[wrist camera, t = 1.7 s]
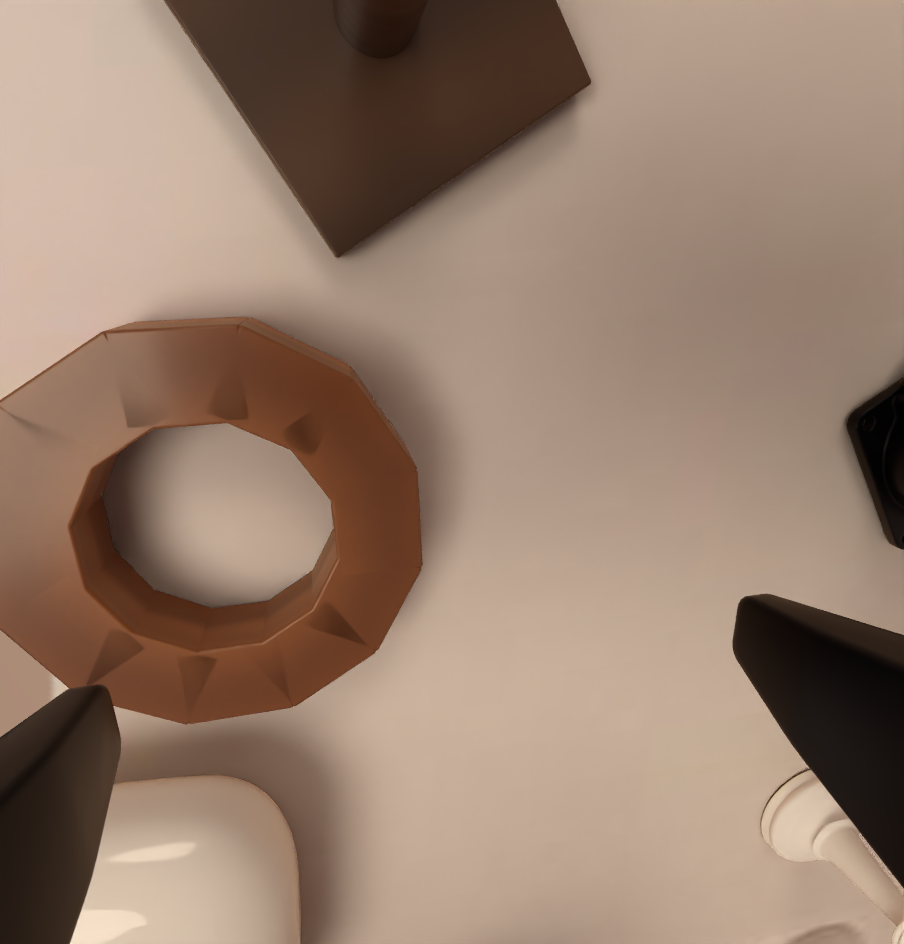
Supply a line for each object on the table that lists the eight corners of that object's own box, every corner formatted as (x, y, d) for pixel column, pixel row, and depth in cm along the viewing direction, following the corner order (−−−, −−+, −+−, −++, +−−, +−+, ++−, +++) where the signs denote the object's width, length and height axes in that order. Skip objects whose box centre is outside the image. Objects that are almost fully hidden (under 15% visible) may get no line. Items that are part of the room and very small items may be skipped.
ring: (65, 694, 19) (31, 751, 17) (-41, 330, 16) (-102, 340, 13) (418, 642, 21) (429, 686, 19) (397, 309, 18) (409, 315, 15)
